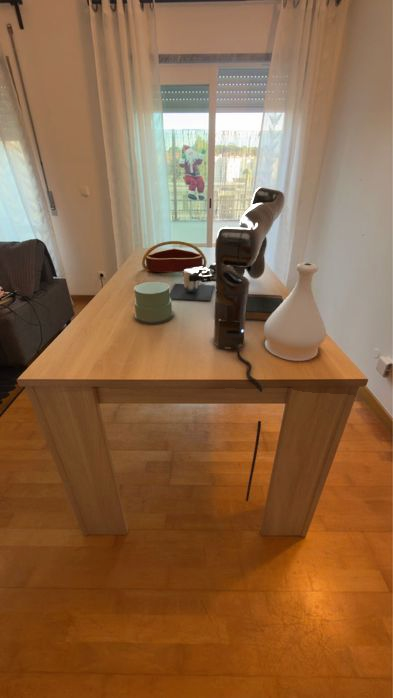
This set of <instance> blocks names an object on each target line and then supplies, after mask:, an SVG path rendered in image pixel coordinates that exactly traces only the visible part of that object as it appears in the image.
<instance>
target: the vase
mask: <svg viewBox="0 0 393 698" xmlns="http://www.w3.org/2000/svg"><path fill="white" fill-rule="evenodd" d="M296 270H297V272H298V277H297V280H296V284H295V286H294V287H293V289H292V290H291V291H290V292H289V294H288V295H287V296H286V297H285V299H283V302H282V303H281V304H280V306H279V307H278V308H277V309H276V310H275V311H274V312H273V313H272V314H271V316H270V317H269V318H268V319H267V321H265V322H264V325H263V332H264V335H265V338H266V339H265V341H264V346H265V348H266V350H267V351H268V352H270V353H271V354H272V355H274V356H276V357H278V358H280V359H284V360H288V361H294V362H295V361H296V362H302V361H308V360H312V359H313V358H315V357H316V356H317V355H318V354H319V347H320V346H321V345H322V344H323V343H324V342H325V340H326V337H327V330H326V326H325V323H324V320H323V318H322V315H321V313H320V310H319V308H318V306H317V303H316V301H315V297H314V294H313V290H312V289H313V288H312V283H313V282H312V280H313V276H314V274H315V273H317V272H318V270H319V267H318V265H317V264H315V263H312V262H301V263H298V264H297V265H296Z"/></svg>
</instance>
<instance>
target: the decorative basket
mask: <svg viewBox="0 0 393 698" xmlns="http://www.w3.org/2000/svg"><path fill="white" fill-rule="evenodd" d="M167 245H182V246H185V247H186V246H187V247H189V248H191V249H193V250H195V251H196V252H195V251H192V250H186V249H180V248H168V249H163V250H159V251H155V252H153V251H154V250H156V249H157V248H159V247H162V246H167ZM152 252H153V253H152ZM141 265H142V268H143V269H144V270H145V271H146V272H153V273H155V272H156V273H172V272H174V273H175V272H177V273H183V271H184V270H186V269H191V268H195V267H201V266H202V267H203V268H206V267H207V258H206V256H205V253H203V251H202V250H201V249H200V248H199V247H197V246H196V245H194V244H192V243H189V242H185V241H179V240H170V241H163V242H160V243H157V244H154V245H153V246H151V247H149V249H147V251H146V252H145V253H144V255H143V257H142V261H141Z"/></svg>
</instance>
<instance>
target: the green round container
mask: <svg viewBox="0 0 393 698" xmlns="http://www.w3.org/2000/svg"><path fill="white" fill-rule="evenodd" d="M133 289H134V297H135V298H134V300H133V301H134V302H133V304H134V311H135V314H134V319H135V320H136V322H138V323H140V324H144V325H162V324H165V323H168V322H169V321H171V320H172V319H173V318H174V312H173V306H172V304H173V303H172V302H173V301H172V300H171V298H170V296H169V294H170V286H169V284H167V283H166V282H162V281H147V282H142V283H139V284H137V285H135V286H134V288H133Z"/></svg>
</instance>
